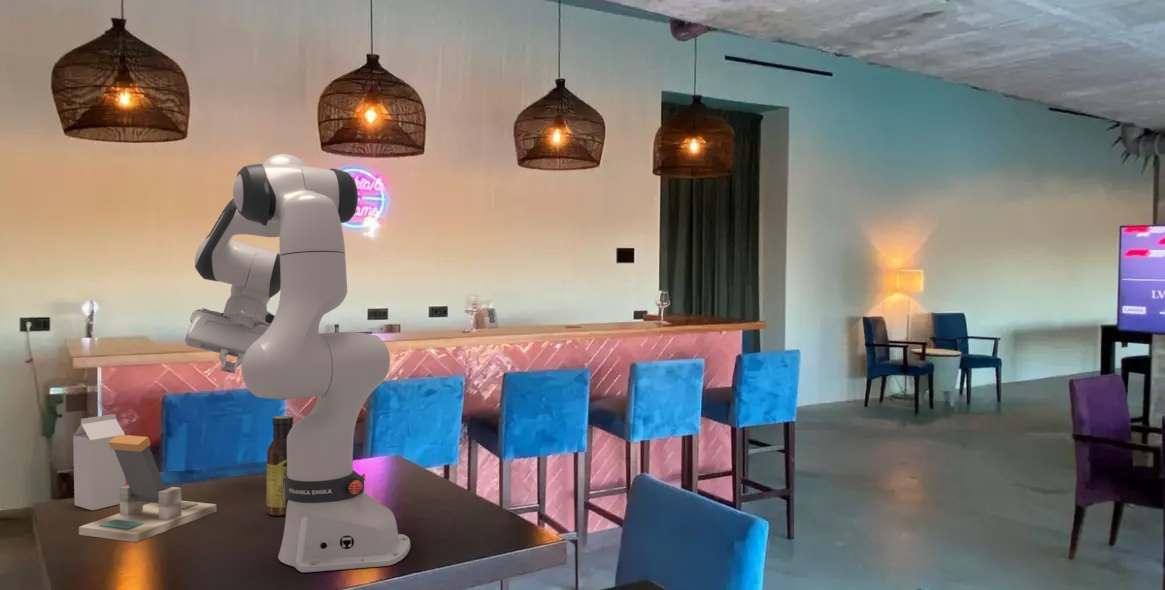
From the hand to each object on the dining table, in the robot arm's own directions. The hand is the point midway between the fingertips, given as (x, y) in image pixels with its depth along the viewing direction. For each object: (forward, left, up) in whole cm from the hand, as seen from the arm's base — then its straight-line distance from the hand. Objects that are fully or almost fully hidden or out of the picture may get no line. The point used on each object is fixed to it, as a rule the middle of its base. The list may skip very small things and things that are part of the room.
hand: (227, 371), depth 176 cm
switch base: (+10, +15, -28) cm, 33 cm away
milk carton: (+27, +2, -29) cm, 39 cm away
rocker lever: (+10, +15, -23) cm, 29 cm away
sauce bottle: (-14, +9, -29) cm, 33 cm away
